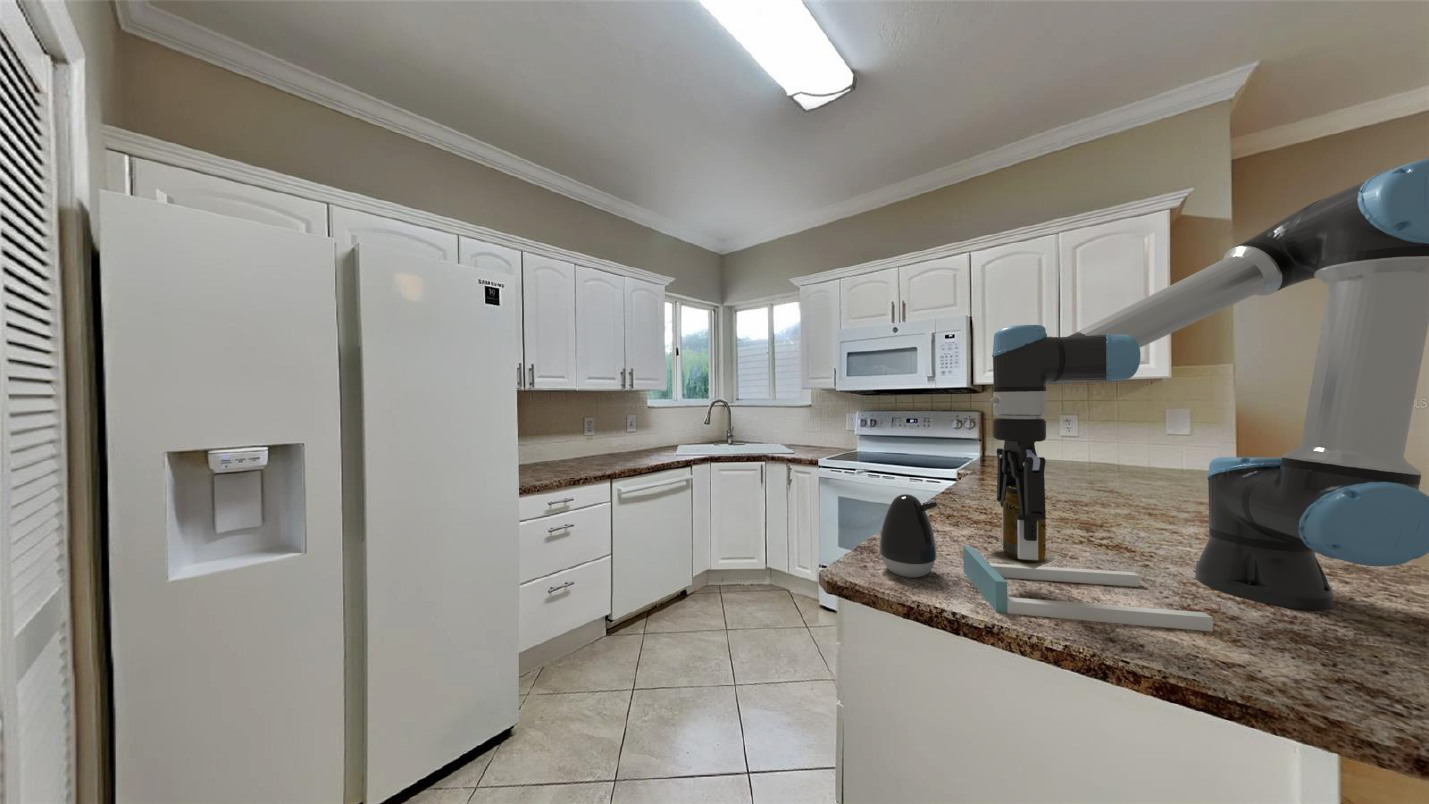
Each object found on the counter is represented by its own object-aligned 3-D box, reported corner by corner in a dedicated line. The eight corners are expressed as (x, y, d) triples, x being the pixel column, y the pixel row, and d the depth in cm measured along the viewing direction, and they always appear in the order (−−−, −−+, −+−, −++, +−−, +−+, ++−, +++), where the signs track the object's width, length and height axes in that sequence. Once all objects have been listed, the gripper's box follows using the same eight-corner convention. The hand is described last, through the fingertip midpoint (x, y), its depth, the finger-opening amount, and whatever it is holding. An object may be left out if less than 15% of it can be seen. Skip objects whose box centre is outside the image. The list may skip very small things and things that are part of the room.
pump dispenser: (934, 588, 81) (933, 502, 81) (873, 576, 86) (872, 496, 86) (941, 569, 89) (940, 492, 89) (886, 560, 95) (885, 487, 95)
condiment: (1056, 559, 77) (1055, 488, 77) (1033, 570, 72) (1033, 494, 72) (1009, 547, 83) (1008, 482, 83) (985, 557, 78) (985, 487, 78)
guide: (1133, 583, 81) (1133, 555, 81) (1213, 631, 65) (1212, 596, 65) (963, 571, 88) (963, 546, 88) (996, 613, 71) (995, 581, 71)
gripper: (976, 415, 88) (977, 534, 88) (1016, 419, 69) (1017, 570, 70) (1020, 414, 86) (1020, 536, 86) (1073, 420, 68) (1074, 574, 68)
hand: (1019, 551), depth 78 cm, fingers closed on condiment, 6 cm apart
